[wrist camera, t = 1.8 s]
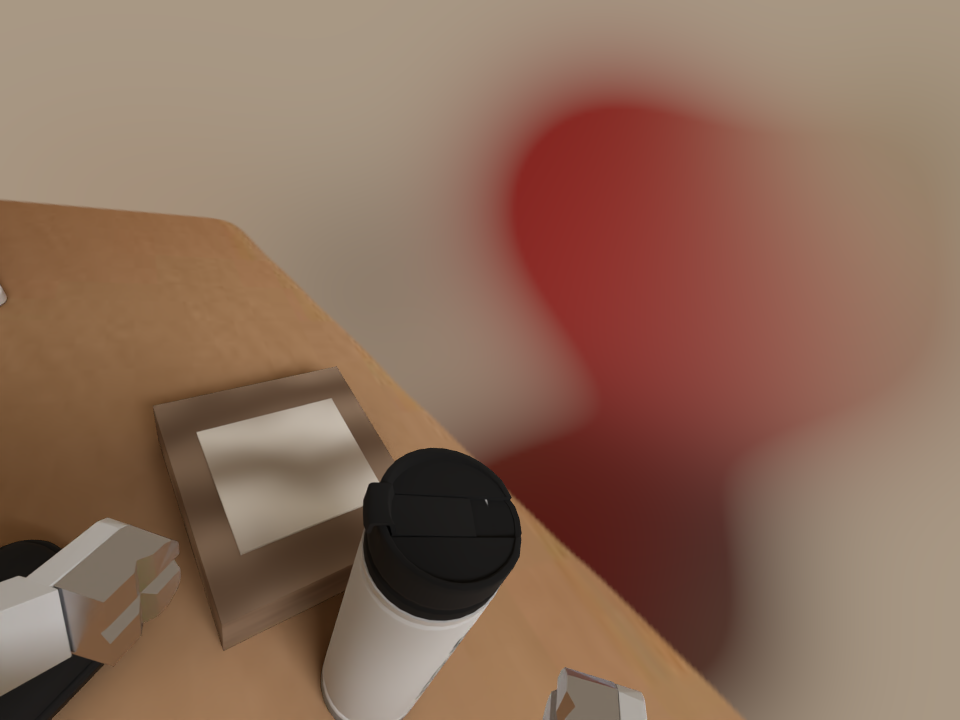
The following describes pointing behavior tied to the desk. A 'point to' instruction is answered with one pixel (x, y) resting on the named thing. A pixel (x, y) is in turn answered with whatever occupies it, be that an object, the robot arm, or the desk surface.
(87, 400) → the desk surface
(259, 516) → the walnut riser
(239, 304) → the desk surface
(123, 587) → the robot arm
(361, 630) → the travel mug
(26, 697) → the carrying case or bag
